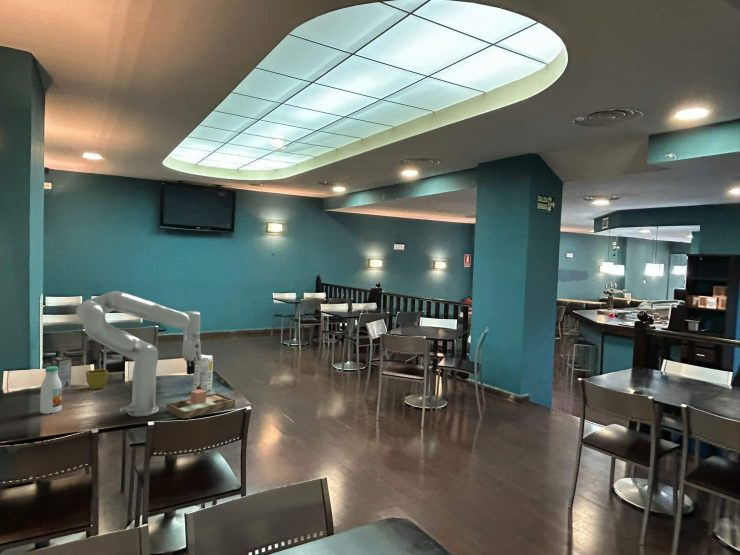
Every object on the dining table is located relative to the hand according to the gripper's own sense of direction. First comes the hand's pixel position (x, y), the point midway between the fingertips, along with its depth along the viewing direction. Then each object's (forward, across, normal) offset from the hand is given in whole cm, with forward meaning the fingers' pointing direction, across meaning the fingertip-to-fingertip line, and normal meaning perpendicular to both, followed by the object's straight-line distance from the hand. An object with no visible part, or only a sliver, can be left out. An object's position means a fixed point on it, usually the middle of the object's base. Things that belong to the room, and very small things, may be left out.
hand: (190, 373), depth 216 cm
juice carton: (+15, +14, -15) cm, 25 cm away
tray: (+14, -11, 0) cm, 18 cm away
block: (+12, -8, 0) cm, 14 cm away
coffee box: (+15, +66, +35) cm, 76 cm away
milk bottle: (+15, +30, +49) cm, 59 cm away
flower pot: (+15, +55, +22) cm, 61 cm away
